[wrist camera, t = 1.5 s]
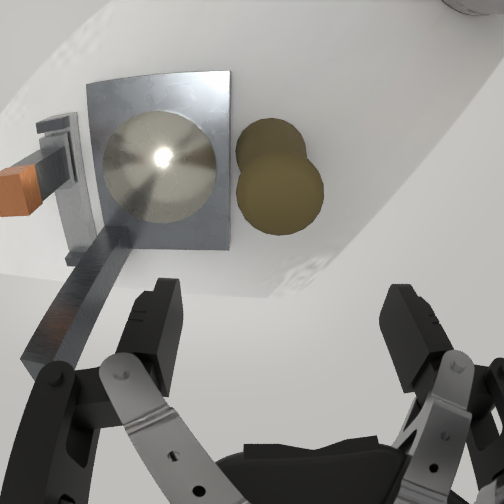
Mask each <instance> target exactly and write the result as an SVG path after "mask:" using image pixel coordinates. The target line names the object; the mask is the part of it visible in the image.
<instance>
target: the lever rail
mask: <svg viewBox="0 0 504 504" xmlns="http://www.w3.org/2000/svg"><path fill="white" fill-rule="evenodd" d="M36 128H37V134H39V133H45V136H49V135H55V134H61V133H67V134H68V142H69V149H70V156H71V163H72V169H73V175H74V180H75V185H74V186H73V187H72V188H71V189H62V190H55V196H56V200H57V205H58V209H59V213H60V217H61V221H62V225H63V229H64V233H65V237H66V240H67V244H68V248H69V251H70V252H69V253H68V255H67V256H66V257H65V260H66V263H67V266H76V265H77V264H78V263H79V261H80V260H81V258H82V257H83V255H84V254H85V253H86V251H87V250H88V248H89V247H90V245H91V244H92V243H93V241H94V240H95V239H96V237H97V235H96V231H95V226H94V221H93V217H92V212H91V207H90V202H89V196H88V191H87V185H86V179H85V173H84V167H83V160H82V153H81V146H80V138H79V129H78V120H77V112H75V113H69V114H64V115H58V116H53V117H50V118H47V119H45V120H42V121H40V122H37V123H36Z"/></svg>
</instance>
